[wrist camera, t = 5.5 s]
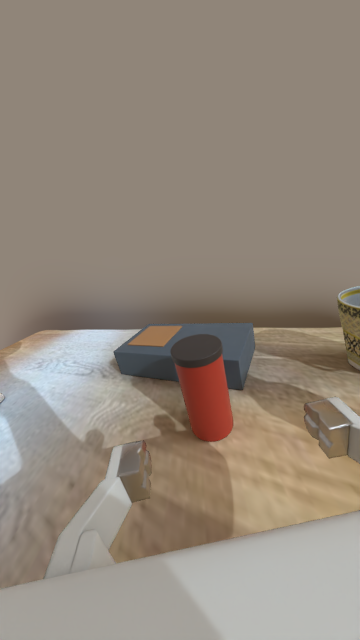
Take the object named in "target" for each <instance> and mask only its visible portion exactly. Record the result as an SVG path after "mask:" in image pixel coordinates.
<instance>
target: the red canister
mask: <svg viewBox="0 0 360 640" xmlns="http://www.w3.org/2000/svg"><path fill="white" fill-rule="evenodd" d="M222 352H223V347H222V342H221V340H220V339H219V338H218V337H216V336H214V335H210V334H197V335H191V336H188V337H185V338H183V339H181V340H179V341H177V342H176V343H175V344H174V345H173V346H172V347H171V350H170V353H171V357H172V360H173V362H174V363H175V367H176V371H177V374H178V378H179V382H180V386H181V390H182V394H183V398H184V401H185V405H186V409H187V413H188V417H189V421H190V424H191V428H192V431H193V433H194V434H195V435H196V436H197V437H198V438H199V439H201V440H204V441H210V442H213V441H218V440H221V439H223V438H225V437H226V436H227V435H228V434H229V433H230V432H231V430H232V428H233V417H232V411H231V405H230V399H229V393H228V387H227V380H226V374H225V368H224V362H223V356H222Z"/></svg>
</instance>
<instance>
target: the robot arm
mask: <svg viewBox="0 0 360 640" xmlns="http://www.w3.org/2000/svg"><path fill="white" fill-rule="evenodd" d="M4 398H5V397H4V395H3V394H2V393H0V403H1V402H2V400H3V399H4ZM304 410H305V412H306V415H305V416H304V422H305V425H306V428H307V430H308V431H309V433H310V434H311V436H312V437H313V438H315V439H317V440H319V446H320V448H321V449H322V450H323V452H324V453H325V454H326V456H327V457H328V458H335V457H340V456H345V455H348V456H349V457H350V458H352V459H353V460H355V461H356V462H358V463H360V417H359V416H358V415H357V414H356V413H355V412H354V411H353V410H351V409H350V408H349V407H348V406H347V405H346V404H345V403H344V402H342V401H341V400H340V399H339V398H338V397H331V398H327V399H322V400H318V401H314V402H310V403H306V404H305V405H304ZM151 473H152V464H151V457H150V453H149V451H147V450H146V443H145V441H138V442H133V443H127V444H123V445H118V446H114V448H113V449H112V453H111V457H110V461H109V465H108V469H107V473H106V477H105V480H102V481H101V482H100V483H99V485H98V486H97V487H96V489H95V490H94V491H93V492H92V494H91V495H90V496H89V498H88V499H87V500H86V501H85V503H84V504H83V505H82V507H81V508H80V509H79V510H78V512H77V513H76V514H75V516H74V517H73V518H72V519H71V521H70V522H69V523H68V525H67V526H66V527H65V528H64V530H63V531H62V532H61V533H60V535H59V537H58V540H57V542H56V545H55V548H54V551H53V553H52V556H51V559H50V562H49V565H48V567H47V570H46V573H45V576H44V578H43V580H38V581H34V582H29V583H25V584H20V585H15V586H11V587H6V588H2V589H0V640H360V510H359V511H354V512H350V513H345V514H341V515H336V516H331V517H327V518H322V519H318V520H313V521H308V522H304V523H299V524H295V525H290V526H286V527H281V528H276V529H272V530H267V531H263V532H258V533H254V534H249V535H244V536H240V537H235V538H231V539H226V540H222V541H217V542H213V543H208V544H203V545H199V546H194V547H190V548H185V549H181V550H176V551H171V552H167V553H162V554H158V555H153V556H149V557H144V558H139V559H135V560H130V561H126V562H121V563H117V564H116V562H115V561H114V559H113V557H112V556H111V554H110V552H109V551H108V550H109V548H110V546H111V544H112V543H113V541H114V539H115V537H116V535H117V533H118V531H119V529H120V527H121V525H122V523H123V521H124V519H125V517H126V515H127V513H128V511H129V510H130V508H131V506H132V503H133V502H137V501H141V500H145V499H149V498H150V490H151V482H150V479H149V476H150V475H151Z"/></svg>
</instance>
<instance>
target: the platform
mask: <svg viewBox="0 0 360 640" xmlns="http://www.w3.org/2000/svg"><path fill="white" fill-rule="evenodd" d="M197 334H210V335H214V336H216V337H218V338H219V339H220V340H221V342H222V347H223V352H222V356H223V362H224V368H225V374H226V380H227V387H228V388H231V389H238V390H243V387H244V383H245V380H246V377H247V373H248V370H249V366H250V363H251V359H252V356H253V352H254V349H255V341H254V331H253V324H252V323H216V324H148V325H147V326H146V327H144V328H143V329H142V330H140V331H139V332H138V333H137V334H135V335H134V336H133V337H132V338H130V339H129V340H128V341H126V342H125V343H124V344H123V345H121V346H120V347H119V348H118V349H116V350H115V351H114V355H115V358H116V360H117V363H118V366H119V368H120V371H121V374H126V375H134V376H141V377H149V378H156V379H164V380H171V381H178V382H179V378H178V374H177V371H176V367H175V363H174V362H173V360H172V357H171V353H170V350H171V347H172V346H173V345H174V344H175V343H176V342H177V341H179V340H181V339H183V338H185V337H188V336H191V335H197Z"/></svg>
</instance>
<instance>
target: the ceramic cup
mask: <svg viewBox="0 0 360 640" xmlns="http://www.w3.org/2000/svg"><path fill="white" fill-rule="evenodd" d="M337 299H338V309H339V315H340V320H341V324H342V328H343V333H344V339H345V345H346V351H347V357H348V362H349V364H350V365H352V366H353V367H355V368H356V369H358V370H359V371H360V286H358V287H353V288H350V289H347V290H344V291H342V292H341V293H339V295H338V296H337Z"/></svg>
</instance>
